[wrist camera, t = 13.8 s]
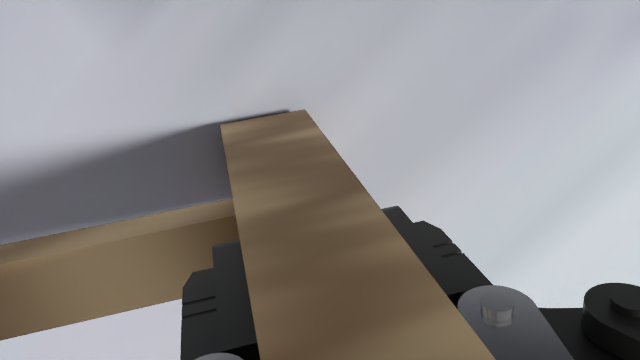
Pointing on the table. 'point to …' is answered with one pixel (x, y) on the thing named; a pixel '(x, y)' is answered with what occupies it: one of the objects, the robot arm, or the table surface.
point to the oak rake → (255, 259)
